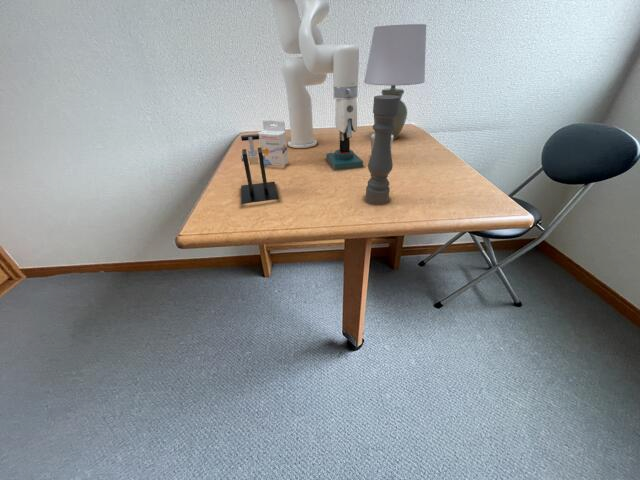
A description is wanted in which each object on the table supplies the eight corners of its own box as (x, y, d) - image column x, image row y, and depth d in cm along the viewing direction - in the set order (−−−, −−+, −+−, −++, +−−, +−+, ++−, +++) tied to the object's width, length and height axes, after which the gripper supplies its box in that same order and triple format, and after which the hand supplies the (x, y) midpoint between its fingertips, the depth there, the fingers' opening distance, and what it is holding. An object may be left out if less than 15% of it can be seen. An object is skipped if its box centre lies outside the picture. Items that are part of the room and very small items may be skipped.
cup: (391, 164, 96) (394, 141, 92) (368, 163, 98) (369, 140, 93) (391, 154, 105) (393, 132, 100) (369, 153, 106) (371, 132, 102)
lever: (242, 140, 80) (240, 133, 78) (259, 139, 81) (258, 131, 79) (244, 165, 73) (243, 157, 71) (263, 163, 73) (262, 155, 72)
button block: (326, 159, 103) (326, 148, 101) (351, 156, 105) (352, 145, 102) (335, 170, 93) (335, 158, 91) (362, 167, 95) (363, 155, 93)
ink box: (261, 167, 98) (255, 123, 90) (268, 162, 102) (262, 120, 93) (283, 169, 96) (278, 124, 87) (289, 164, 100) (285, 120, 91)
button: (337, 155, 99) (337, 150, 98) (347, 154, 99) (347, 149, 98) (340, 158, 96) (340, 153, 95) (350, 157, 97) (350, 152, 96)
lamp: (375, 128, 139) (383, 28, 116) (422, 134, 127) (442, 24, 104) (351, 140, 123) (355, 27, 100) (402, 148, 111) (420, 22, 88)
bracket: (241, 189, 83) (232, 146, 76) (274, 185, 85) (269, 142, 78) (242, 207, 74) (231, 160, 66) (279, 202, 75) (273, 155, 68)
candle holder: (363, 195, 77) (369, 95, 63) (384, 193, 78) (396, 94, 63) (368, 205, 72) (376, 99, 58) (391, 203, 73) (405, 98, 58)
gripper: (365, 95, 81) (362, 157, 91) (349, 89, 93) (348, 144, 103) (340, 96, 79) (340, 159, 90) (327, 91, 91) (328, 147, 102)
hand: (344, 151), depth 96 cm, fingers closed
